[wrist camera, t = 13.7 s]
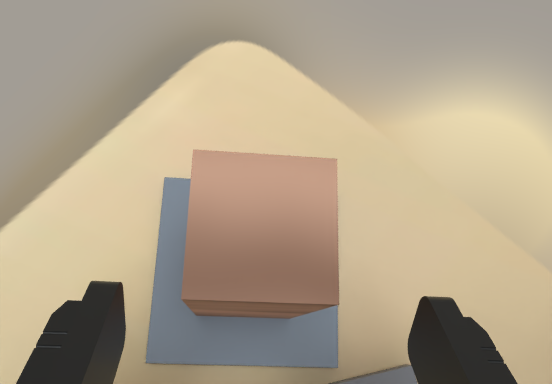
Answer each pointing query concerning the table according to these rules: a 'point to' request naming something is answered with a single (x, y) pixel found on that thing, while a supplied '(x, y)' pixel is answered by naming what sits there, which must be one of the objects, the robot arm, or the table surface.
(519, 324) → the table surface
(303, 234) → the block
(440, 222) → the table surface
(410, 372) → the board with wooden handle
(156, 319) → the mat
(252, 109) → the table surface
